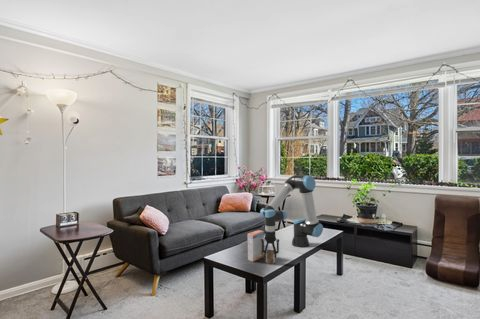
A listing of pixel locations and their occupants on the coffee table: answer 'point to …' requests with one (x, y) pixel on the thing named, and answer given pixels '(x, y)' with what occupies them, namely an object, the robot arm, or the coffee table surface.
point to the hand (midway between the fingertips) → (270, 261)
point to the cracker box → (255, 245)
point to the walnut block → (270, 256)
